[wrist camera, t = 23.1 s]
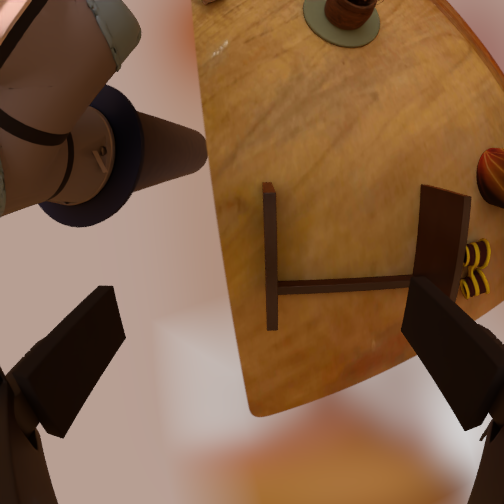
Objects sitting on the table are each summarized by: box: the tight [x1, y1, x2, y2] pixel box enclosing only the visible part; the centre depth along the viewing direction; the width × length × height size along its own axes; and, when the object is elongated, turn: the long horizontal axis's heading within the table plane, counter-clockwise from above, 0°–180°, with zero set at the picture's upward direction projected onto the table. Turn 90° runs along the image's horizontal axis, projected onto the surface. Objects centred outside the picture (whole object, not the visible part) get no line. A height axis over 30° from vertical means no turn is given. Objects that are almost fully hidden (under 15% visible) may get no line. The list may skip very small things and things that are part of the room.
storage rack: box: [262, 182, 471, 331], centre depth 36 cm, size 15×24×11 cm, turn 92°
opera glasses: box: [460, 238, 491, 299], centre depth 39 cm, size 10×5×5 cm, turn 18°
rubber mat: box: [303, 0, 380, 48], centre depth 31 cm, size 11×11×1 cm
